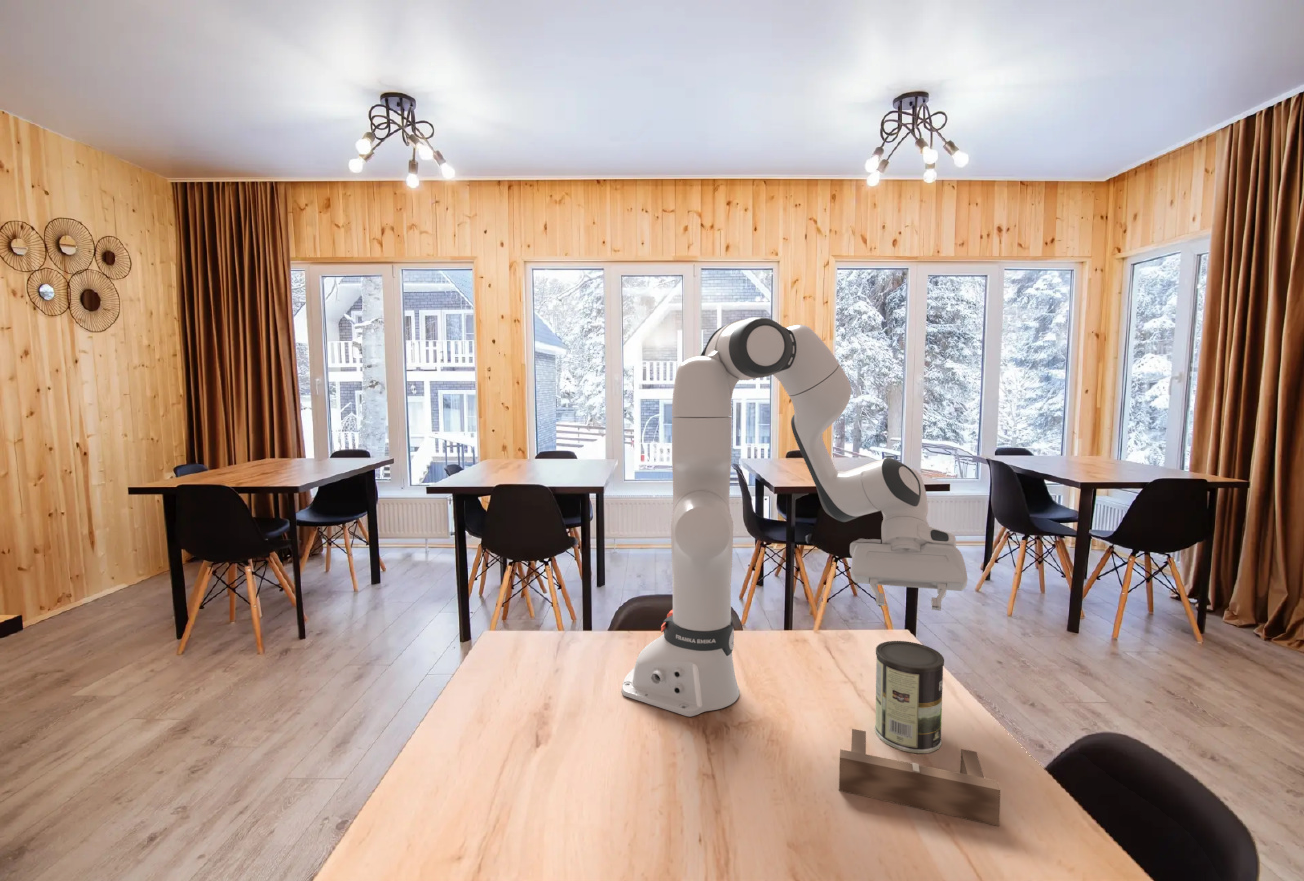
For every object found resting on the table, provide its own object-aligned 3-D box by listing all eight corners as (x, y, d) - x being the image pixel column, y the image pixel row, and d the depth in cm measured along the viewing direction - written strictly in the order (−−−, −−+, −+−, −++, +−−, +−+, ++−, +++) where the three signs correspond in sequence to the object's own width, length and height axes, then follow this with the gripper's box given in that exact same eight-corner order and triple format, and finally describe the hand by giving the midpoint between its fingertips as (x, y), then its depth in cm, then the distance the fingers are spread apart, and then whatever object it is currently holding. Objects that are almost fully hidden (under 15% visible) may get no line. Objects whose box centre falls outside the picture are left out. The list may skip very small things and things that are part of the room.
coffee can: (931, 721, 99) (934, 642, 98) (950, 757, 89) (952, 670, 88) (869, 714, 101) (870, 637, 100) (880, 750, 91) (882, 665, 90)
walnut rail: (839, 790, 82) (839, 756, 82) (841, 757, 90) (841, 725, 89) (999, 826, 75) (1000, 788, 75) (987, 787, 82) (988, 752, 82)
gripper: (849, 530, 115) (847, 593, 107) (964, 535, 107) (971, 604, 99) (850, 546, 119) (849, 608, 111) (961, 552, 112) (968, 619, 103)
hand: (907, 606), depth 105 cm, fingers open, 8 cm apart
